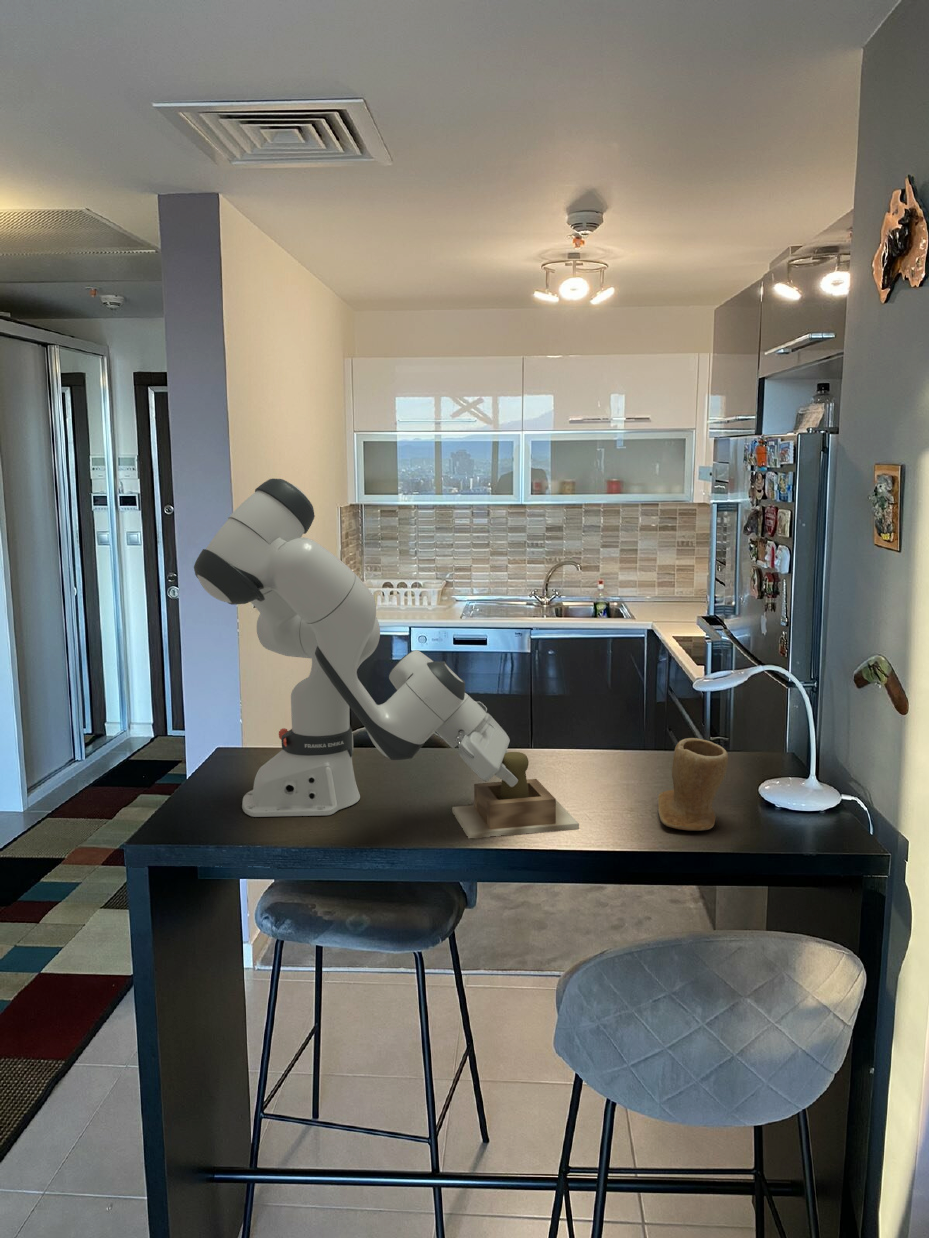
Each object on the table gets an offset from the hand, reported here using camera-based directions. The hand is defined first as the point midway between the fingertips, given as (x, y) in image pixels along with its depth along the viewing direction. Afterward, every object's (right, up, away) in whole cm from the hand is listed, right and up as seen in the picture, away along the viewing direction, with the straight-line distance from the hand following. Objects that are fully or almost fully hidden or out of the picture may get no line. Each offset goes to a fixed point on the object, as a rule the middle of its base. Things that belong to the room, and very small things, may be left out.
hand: (517, 778), depth 174 cm
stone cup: (+31, -8, 0) cm, 32 cm away
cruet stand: (-1, -8, +1) cm, 8 cm away
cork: (0, -6, +1) cm, 6 cm away
